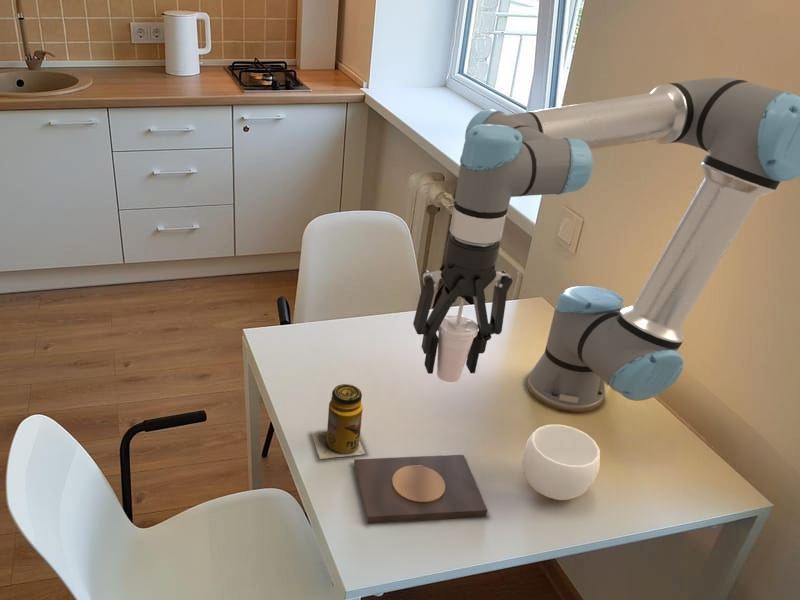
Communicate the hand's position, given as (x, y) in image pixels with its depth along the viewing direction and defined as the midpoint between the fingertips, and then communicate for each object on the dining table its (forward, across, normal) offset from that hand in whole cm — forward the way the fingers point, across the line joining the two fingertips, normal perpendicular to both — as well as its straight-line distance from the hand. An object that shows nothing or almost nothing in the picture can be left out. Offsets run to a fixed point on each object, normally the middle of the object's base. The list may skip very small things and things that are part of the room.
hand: (449, 368), depth 117 cm
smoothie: (+2, 0, 0) cm, 2 cm away
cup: (+21, -20, +6) cm, 30 cm away
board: (+22, +4, +5) cm, 22 cm away
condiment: (+22, +16, -7) cm, 28 cm away
